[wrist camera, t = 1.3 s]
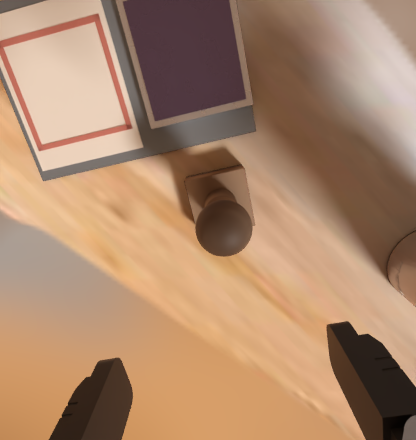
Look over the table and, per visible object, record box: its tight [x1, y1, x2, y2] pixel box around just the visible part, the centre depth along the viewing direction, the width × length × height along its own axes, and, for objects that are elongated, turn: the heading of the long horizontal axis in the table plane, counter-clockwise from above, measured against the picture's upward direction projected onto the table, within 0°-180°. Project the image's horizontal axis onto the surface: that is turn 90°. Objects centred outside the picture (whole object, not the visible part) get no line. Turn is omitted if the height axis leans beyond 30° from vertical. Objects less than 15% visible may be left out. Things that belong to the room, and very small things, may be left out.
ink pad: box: [116, 0, 253, 129], centre depth 26 cm, size 10×11×2 cm
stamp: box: [185, 164, 255, 257], centre depth 26 cm, size 6×6×12 cm
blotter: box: [0, 0, 256, 181], centre depth 28 cm, size 23×16×1 cm
